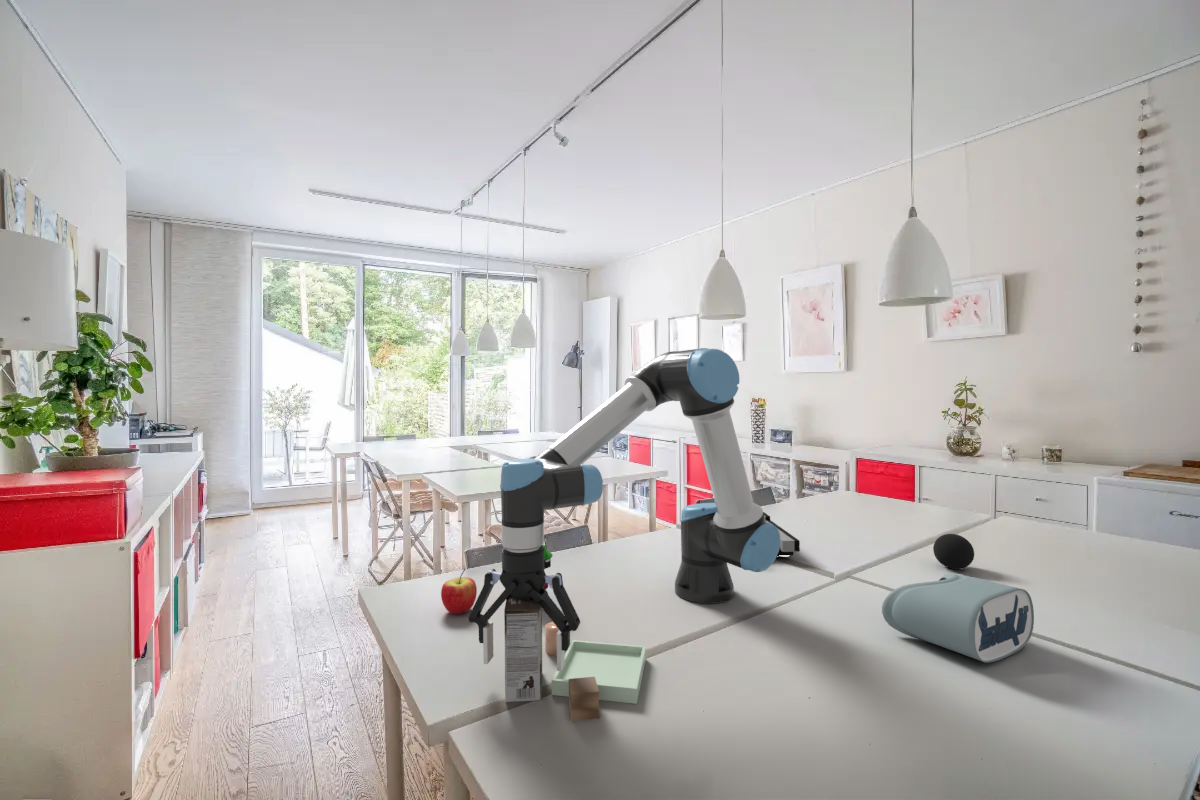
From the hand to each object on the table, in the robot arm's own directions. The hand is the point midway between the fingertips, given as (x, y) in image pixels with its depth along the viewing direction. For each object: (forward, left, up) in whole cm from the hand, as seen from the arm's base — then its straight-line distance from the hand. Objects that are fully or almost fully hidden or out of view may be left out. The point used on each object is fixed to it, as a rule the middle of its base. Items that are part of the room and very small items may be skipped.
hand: (524, 663), depth 95 cm
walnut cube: (-12, +5, -4) cm, 14 cm away
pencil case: (-84, -33, -5) cm, 90 cm away
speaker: (-104, -81, -4) cm, 132 cm away
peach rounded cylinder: (-2, -14, -4) cm, 15 cm away
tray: (-13, -6, -4) cm, 15 cm away
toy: (+10, -37, -4) cm, 39 cm away
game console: (-47, -92, -5) cm, 104 cm away
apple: (+26, -28, -4) cm, 38 cm away
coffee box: (0, 0, -4) cm, 4 cm away
